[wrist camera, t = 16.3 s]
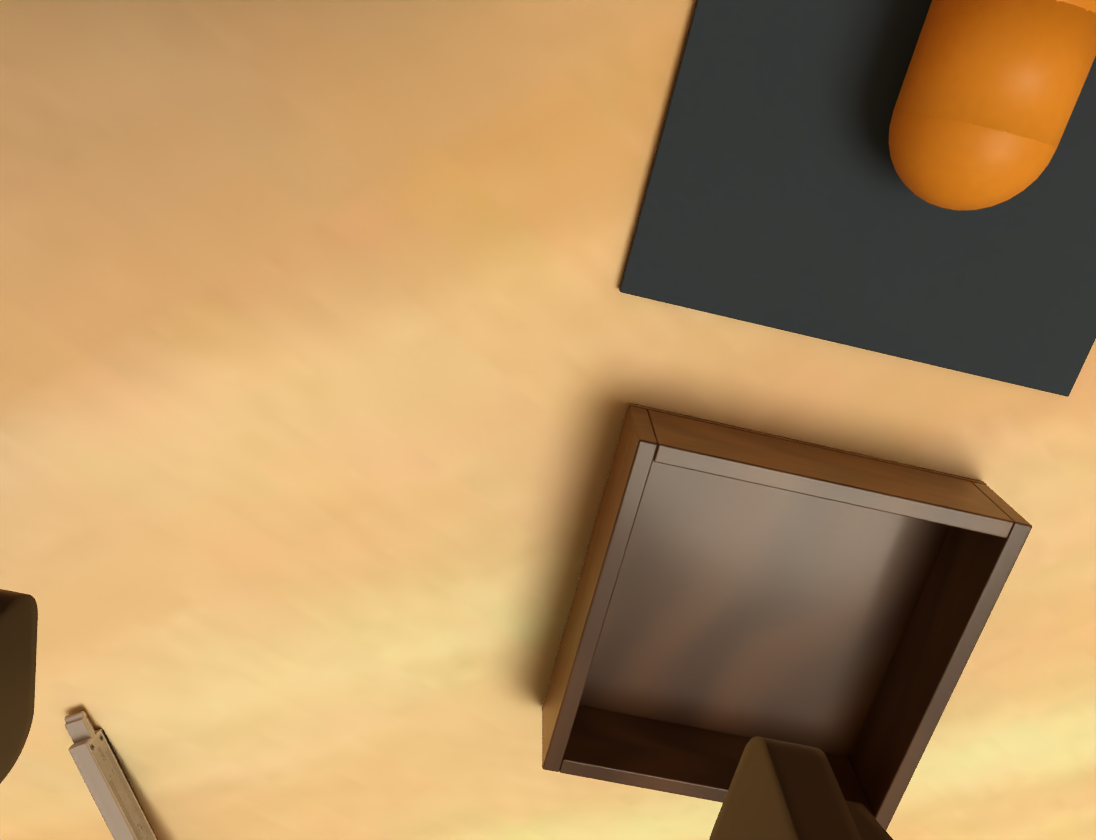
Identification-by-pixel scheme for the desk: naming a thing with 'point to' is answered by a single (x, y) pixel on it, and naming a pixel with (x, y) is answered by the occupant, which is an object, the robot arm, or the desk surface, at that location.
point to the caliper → (107, 781)
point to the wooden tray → (769, 610)
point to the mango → (989, 97)
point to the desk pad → (856, 203)
